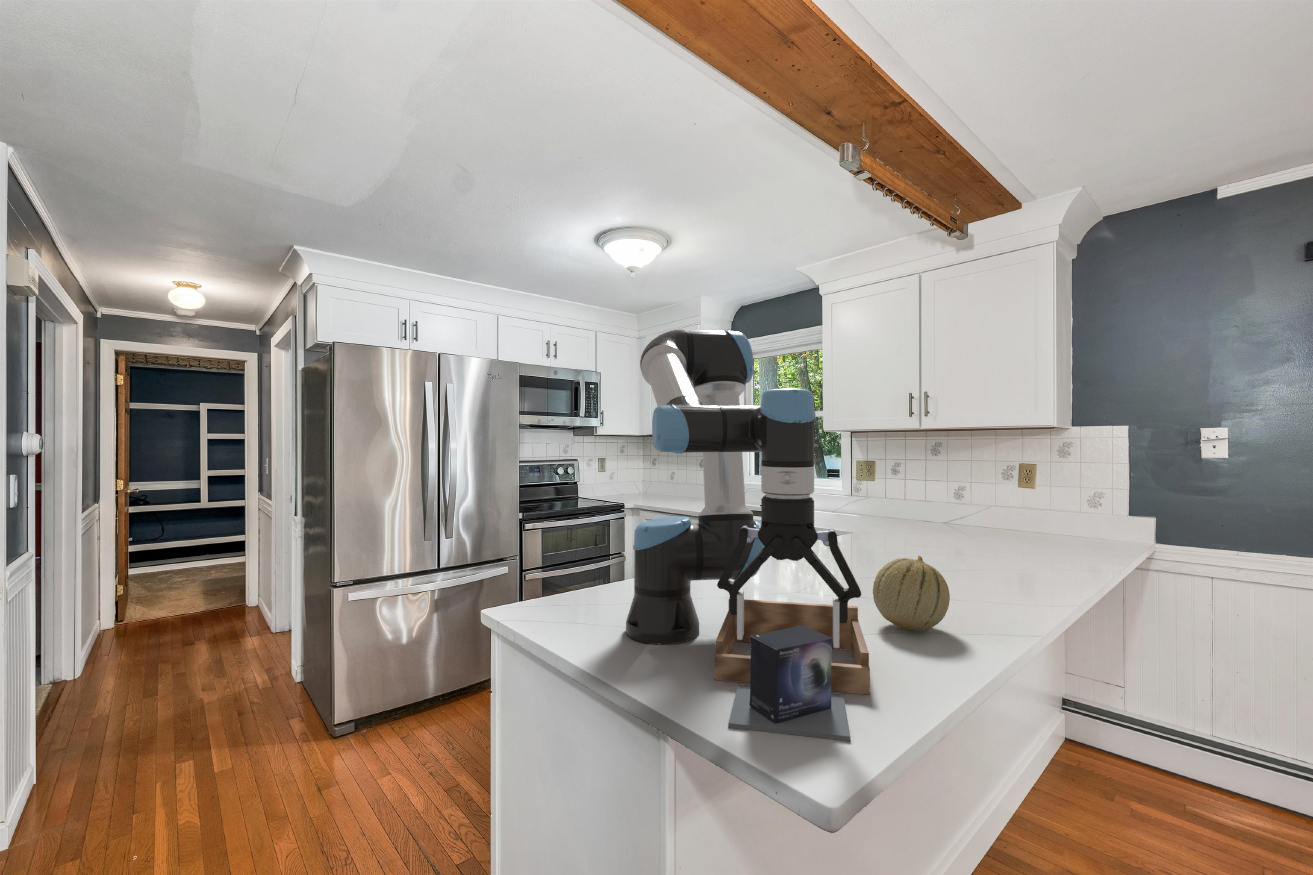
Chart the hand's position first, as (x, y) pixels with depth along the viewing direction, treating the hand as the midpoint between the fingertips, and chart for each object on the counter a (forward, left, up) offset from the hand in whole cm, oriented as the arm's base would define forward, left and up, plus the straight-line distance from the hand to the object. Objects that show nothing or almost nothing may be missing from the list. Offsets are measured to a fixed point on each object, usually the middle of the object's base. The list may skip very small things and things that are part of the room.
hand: (787, 640), depth 85 cm
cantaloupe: (+24, +44, -10) cm, 51 cm away
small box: (0, 0, -10) cm, 10 cm away
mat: (0, 0, -10) cm, 10 cm away
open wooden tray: (0, +19, -10) cm, 21 cm away
